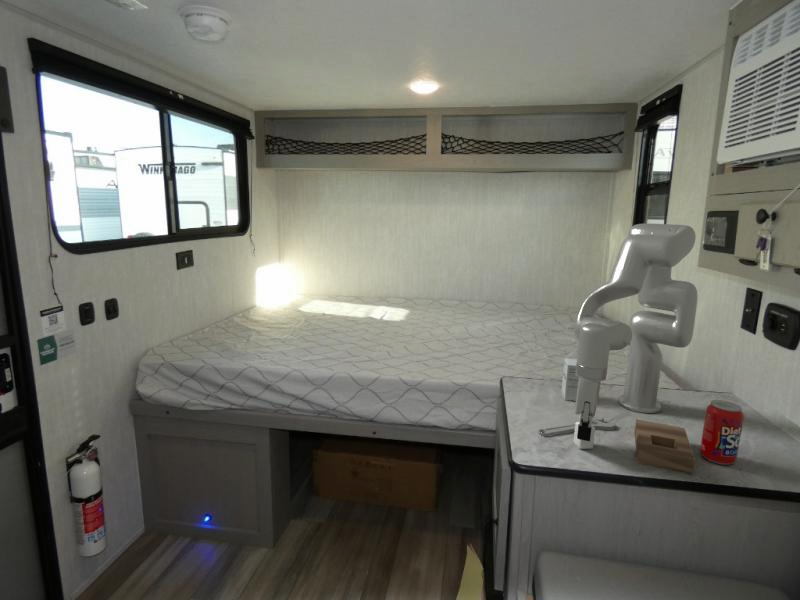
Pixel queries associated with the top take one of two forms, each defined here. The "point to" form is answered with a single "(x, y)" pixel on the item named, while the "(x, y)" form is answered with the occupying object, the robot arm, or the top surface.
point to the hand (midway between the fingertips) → (584, 434)
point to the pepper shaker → (582, 443)
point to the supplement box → (569, 380)
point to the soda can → (722, 432)
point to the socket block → (663, 446)
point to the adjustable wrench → (596, 422)
